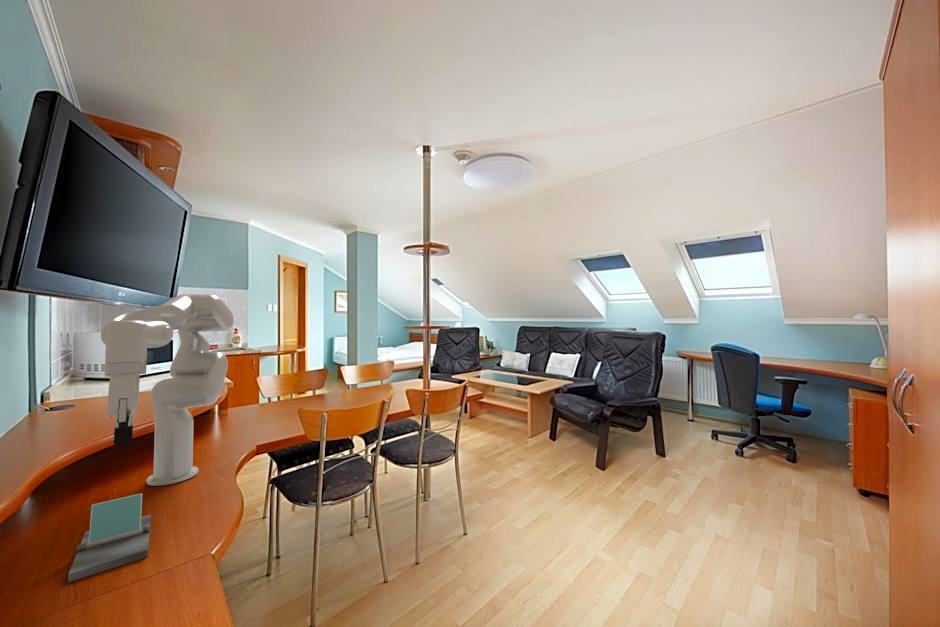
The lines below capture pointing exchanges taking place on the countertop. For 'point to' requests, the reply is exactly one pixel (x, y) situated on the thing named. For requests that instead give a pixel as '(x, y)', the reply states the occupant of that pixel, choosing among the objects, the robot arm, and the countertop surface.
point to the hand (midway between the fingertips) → (123, 442)
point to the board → (110, 551)
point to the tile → (115, 517)
